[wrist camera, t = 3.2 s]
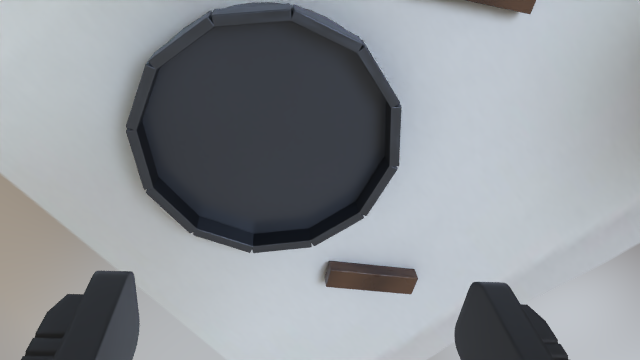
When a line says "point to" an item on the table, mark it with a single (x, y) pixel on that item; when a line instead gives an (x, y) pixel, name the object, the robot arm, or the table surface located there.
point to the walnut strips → (391, 276)
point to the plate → (265, 127)
